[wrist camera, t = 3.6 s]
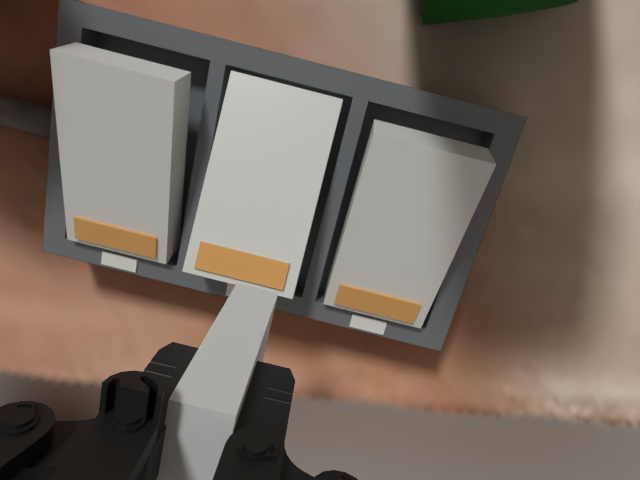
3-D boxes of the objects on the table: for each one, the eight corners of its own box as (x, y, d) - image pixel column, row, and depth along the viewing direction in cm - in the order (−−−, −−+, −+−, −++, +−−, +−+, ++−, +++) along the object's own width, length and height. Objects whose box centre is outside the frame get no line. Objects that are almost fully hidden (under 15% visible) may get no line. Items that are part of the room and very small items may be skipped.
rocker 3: (327, 282, 24) (322, 305, 23) (374, 119, 20) (373, 133, 18) (418, 305, 24) (420, 330, 23) (488, 148, 20) (497, 165, 18)
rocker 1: (87, 221, 24) (65, 240, 23) (75, 42, 19) (47, 50, 18) (180, 245, 24) (164, 266, 23) (191, 72, 20) (173, 82, 18)
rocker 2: (193, 267, 22) (180, 271, 20) (238, 82, 22) (230, 69, 20) (294, 292, 22) (292, 299, 20) (341, 109, 22) (343, 98, 20)
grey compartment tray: (-21, 206, 27) (-75, 222, 23) (-16, -19, 23) (-79, -40, 20) (429, 320, 27) (440, 352, 24) (501, 115, 24) (527, 117, 20)
